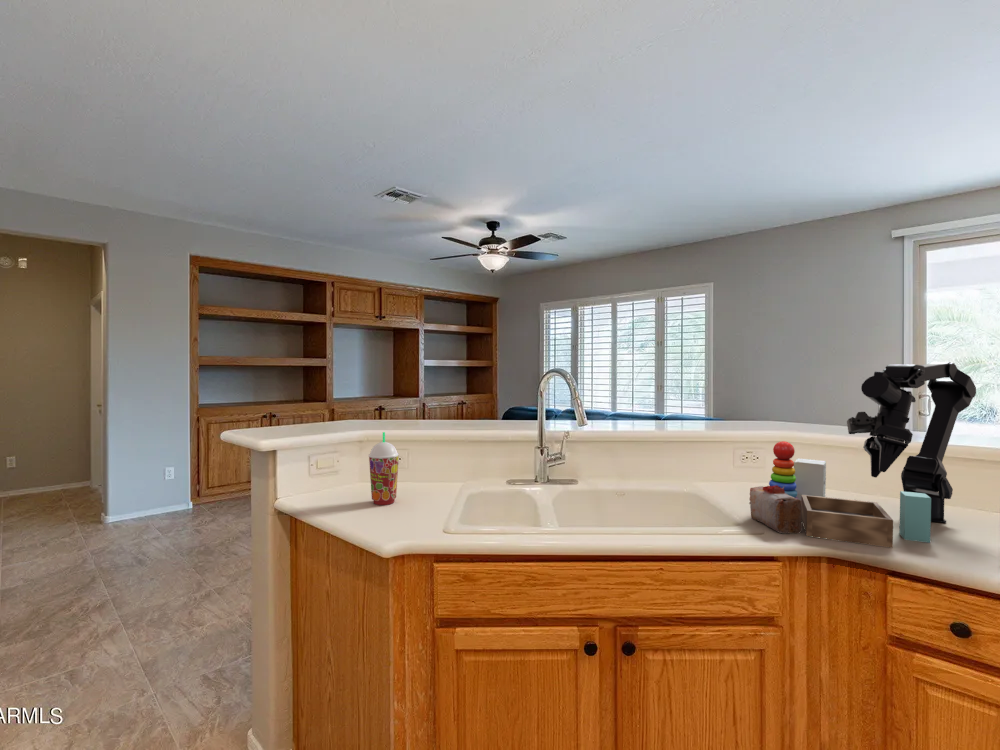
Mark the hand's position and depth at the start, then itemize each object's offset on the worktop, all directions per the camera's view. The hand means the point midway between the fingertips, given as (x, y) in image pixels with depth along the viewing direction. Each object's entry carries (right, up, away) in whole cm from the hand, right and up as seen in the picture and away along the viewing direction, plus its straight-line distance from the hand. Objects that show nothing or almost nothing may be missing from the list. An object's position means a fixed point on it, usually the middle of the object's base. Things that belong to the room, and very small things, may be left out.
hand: (877, 474), depth 122 cm
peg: (+5, -14, -4) cm, 15 cm away
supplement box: (-3, -13, +22) cm, 26 cm away
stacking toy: (-13, -13, +18) cm, 26 cm away
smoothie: (-123, -13, +24) cm, 126 cm away
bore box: (-8, -14, 0) cm, 16 cm away
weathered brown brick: (-22, -14, +5) cm, 26 cm away
